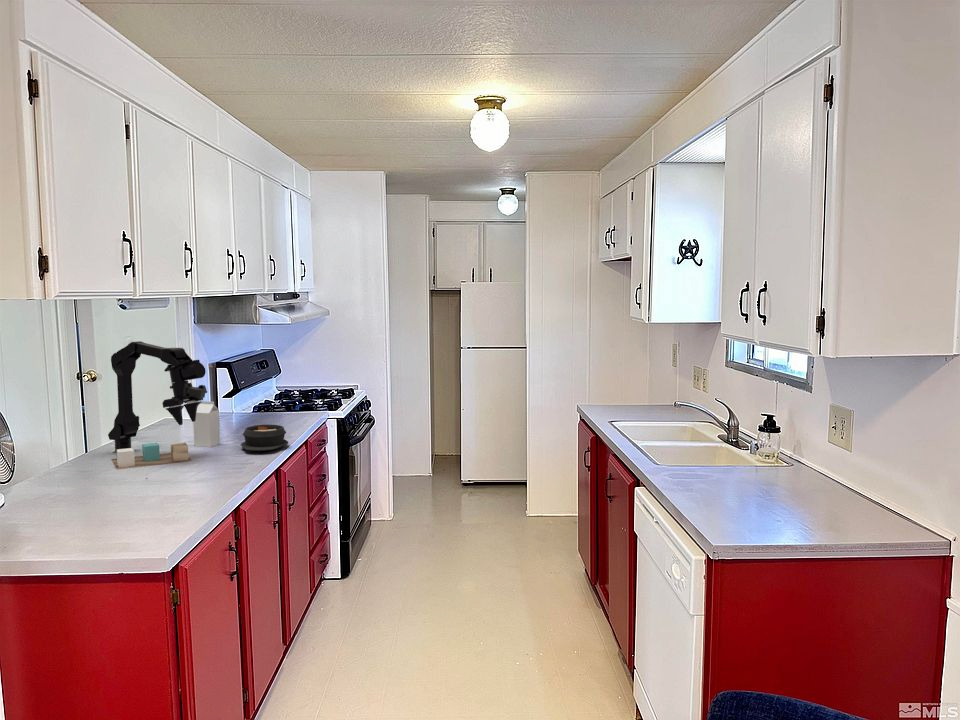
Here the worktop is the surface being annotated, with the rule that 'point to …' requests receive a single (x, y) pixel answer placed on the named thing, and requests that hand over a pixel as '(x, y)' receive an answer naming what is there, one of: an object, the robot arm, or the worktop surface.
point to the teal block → (150, 452)
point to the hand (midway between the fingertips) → (187, 423)
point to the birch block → (179, 451)
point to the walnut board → (139, 462)
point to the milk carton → (206, 425)
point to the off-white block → (125, 457)
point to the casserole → (264, 437)
